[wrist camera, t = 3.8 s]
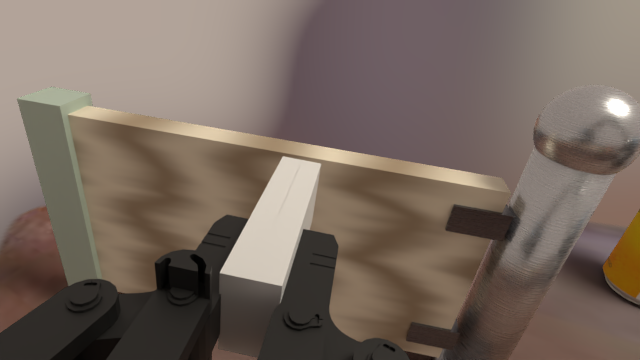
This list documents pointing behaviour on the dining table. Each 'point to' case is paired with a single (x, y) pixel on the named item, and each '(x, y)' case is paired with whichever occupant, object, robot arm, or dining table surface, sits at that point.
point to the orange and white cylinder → (626, 264)
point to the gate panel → (241, 199)
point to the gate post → (547, 214)
